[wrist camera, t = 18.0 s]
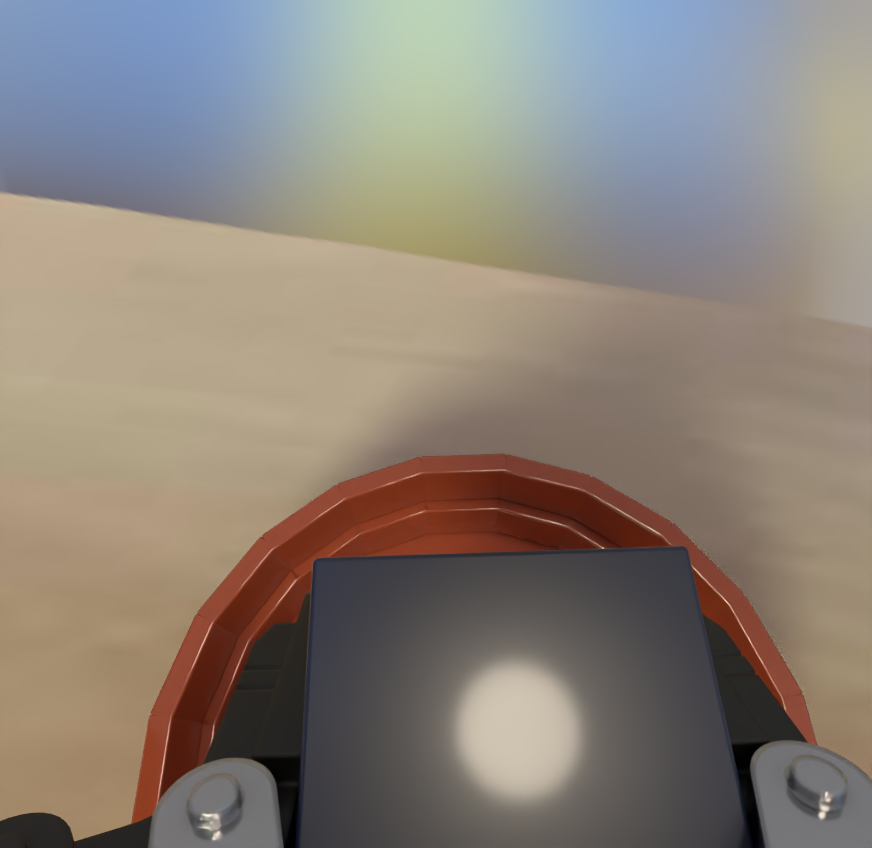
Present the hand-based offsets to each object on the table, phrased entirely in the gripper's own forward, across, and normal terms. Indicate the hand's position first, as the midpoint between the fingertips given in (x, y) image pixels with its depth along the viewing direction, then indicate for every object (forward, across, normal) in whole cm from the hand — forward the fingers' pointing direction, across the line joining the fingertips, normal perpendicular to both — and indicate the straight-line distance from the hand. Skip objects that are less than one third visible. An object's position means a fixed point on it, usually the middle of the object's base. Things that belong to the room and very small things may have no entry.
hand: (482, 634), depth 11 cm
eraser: (+2, 0, +4) cm, 5 cm away
